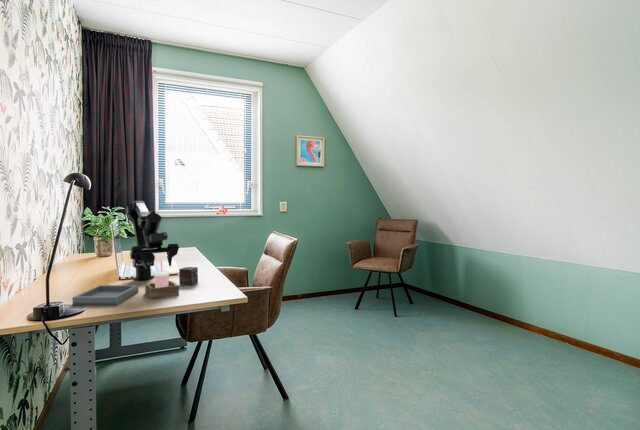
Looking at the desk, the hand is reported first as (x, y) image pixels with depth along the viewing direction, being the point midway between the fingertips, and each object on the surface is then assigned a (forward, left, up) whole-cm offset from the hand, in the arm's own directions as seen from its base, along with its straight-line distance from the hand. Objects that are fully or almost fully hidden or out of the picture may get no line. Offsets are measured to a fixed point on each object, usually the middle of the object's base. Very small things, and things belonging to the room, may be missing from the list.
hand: (159, 267), depth 160 cm
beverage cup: (+3, -2, -11) cm, 12 cm away
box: (0, +16, -11) cm, 20 cm away
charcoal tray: (-10, -16, -11) cm, 22 cm away
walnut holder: (+3, -2, -11) cm, 11 cm away
